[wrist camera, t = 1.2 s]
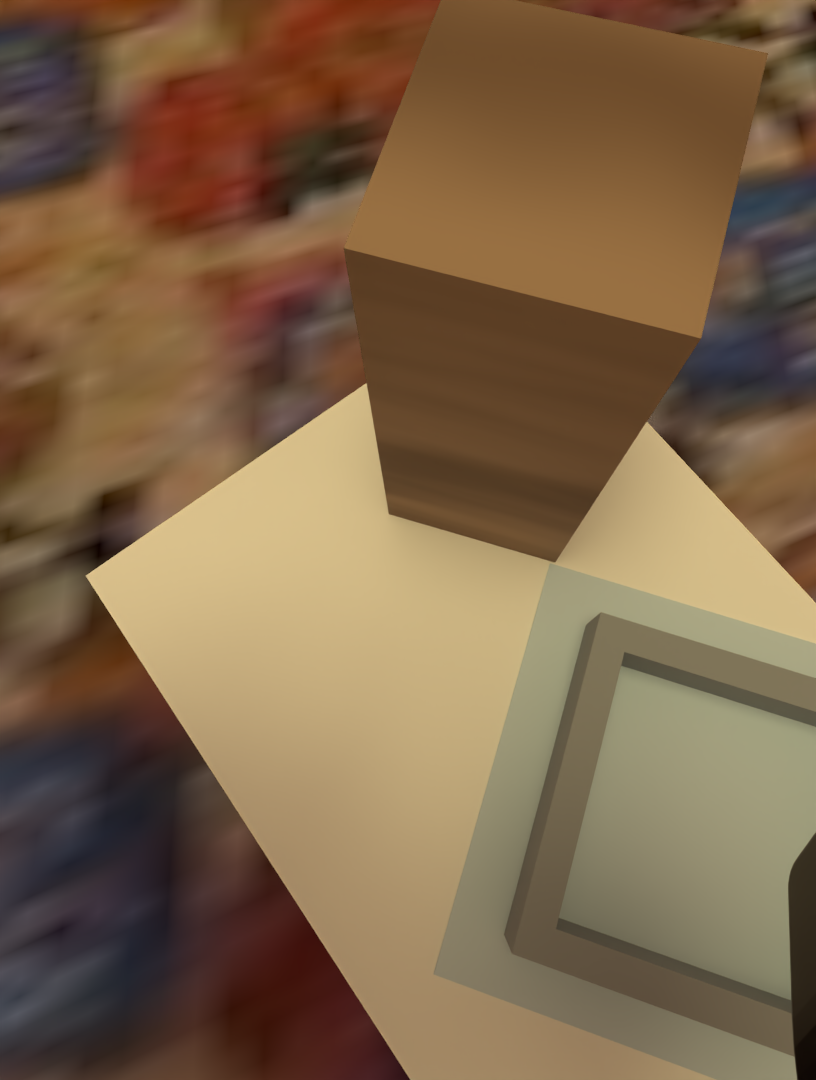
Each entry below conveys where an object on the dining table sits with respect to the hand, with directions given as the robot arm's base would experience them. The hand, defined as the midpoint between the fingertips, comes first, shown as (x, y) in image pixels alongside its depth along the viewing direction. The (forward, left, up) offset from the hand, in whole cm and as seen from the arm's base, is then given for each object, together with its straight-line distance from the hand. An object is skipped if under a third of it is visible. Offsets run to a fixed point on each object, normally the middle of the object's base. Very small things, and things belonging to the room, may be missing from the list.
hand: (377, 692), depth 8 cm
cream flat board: (+3, -4, -14) cm, 15 cm away
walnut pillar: (+7, +5, -13) cm, 15 cm away
